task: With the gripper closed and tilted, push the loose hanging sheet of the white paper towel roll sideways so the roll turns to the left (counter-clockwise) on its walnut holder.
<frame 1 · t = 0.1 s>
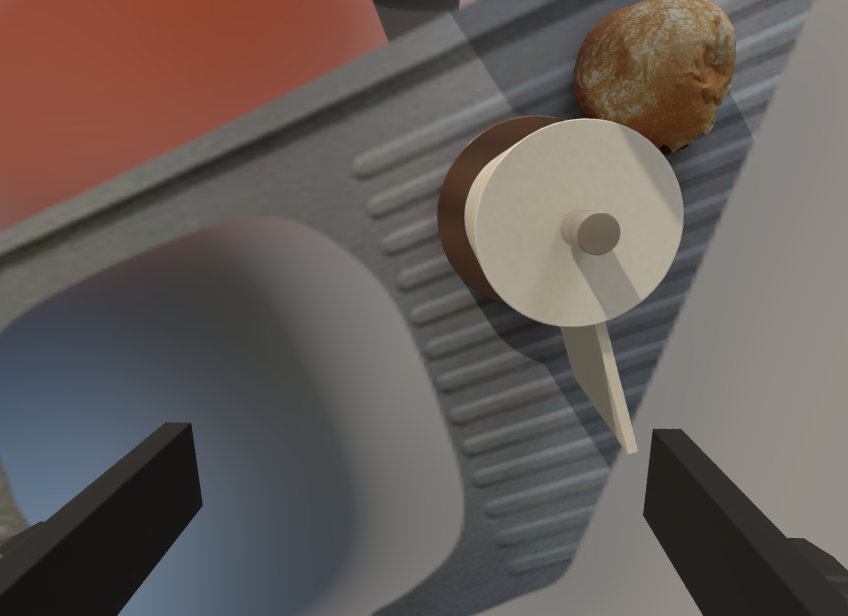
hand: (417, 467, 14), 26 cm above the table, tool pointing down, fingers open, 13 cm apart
towel holder: (528, 214, 37), on the table
paper towel roll: (548, 281, 30), point 8 cm above the table, hinge at 0.0°
bread roll: (642, 85, 35), on the table
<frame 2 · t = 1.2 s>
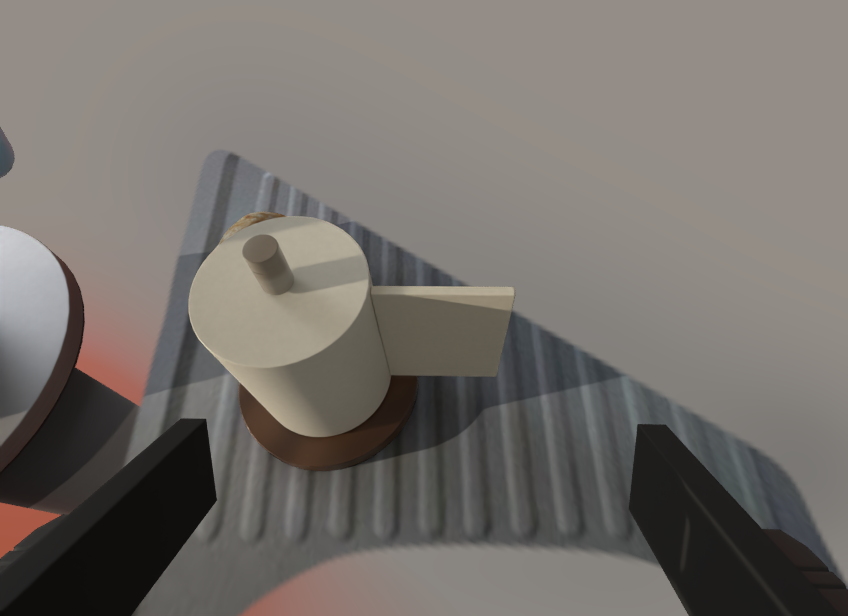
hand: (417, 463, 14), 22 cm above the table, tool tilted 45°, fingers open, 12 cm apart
towel holder: (332, 381, 39), on the table
paper towel roll: (359, 352, 31), point 8 cm above the table, hinge at 0.0°
bread roll: (280, 277, 44), on the table
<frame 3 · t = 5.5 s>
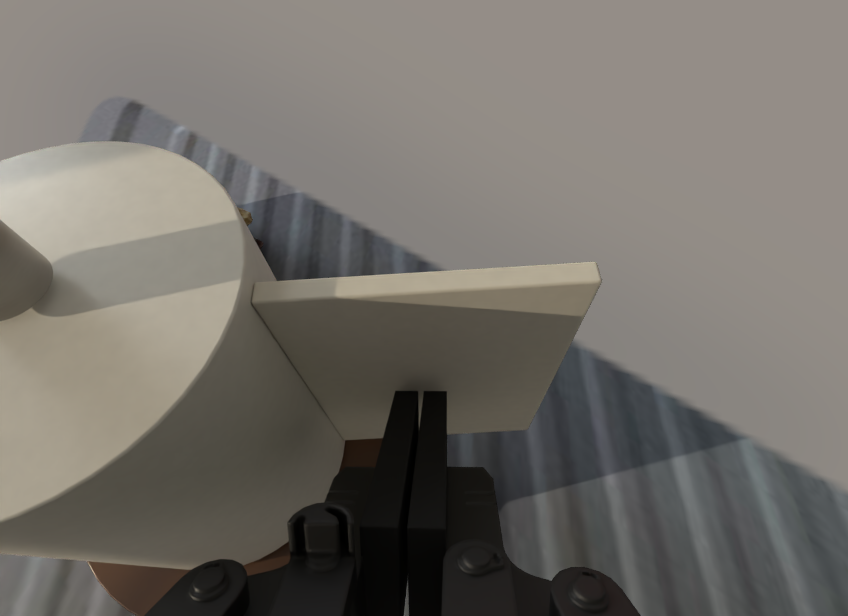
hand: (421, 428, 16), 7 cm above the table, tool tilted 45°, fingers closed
towel holder: (248, 453, 23), on the table
paper towel roll: (266, 419, 15), point 8 cm above the table, hinge at 3.9°, touching gripper
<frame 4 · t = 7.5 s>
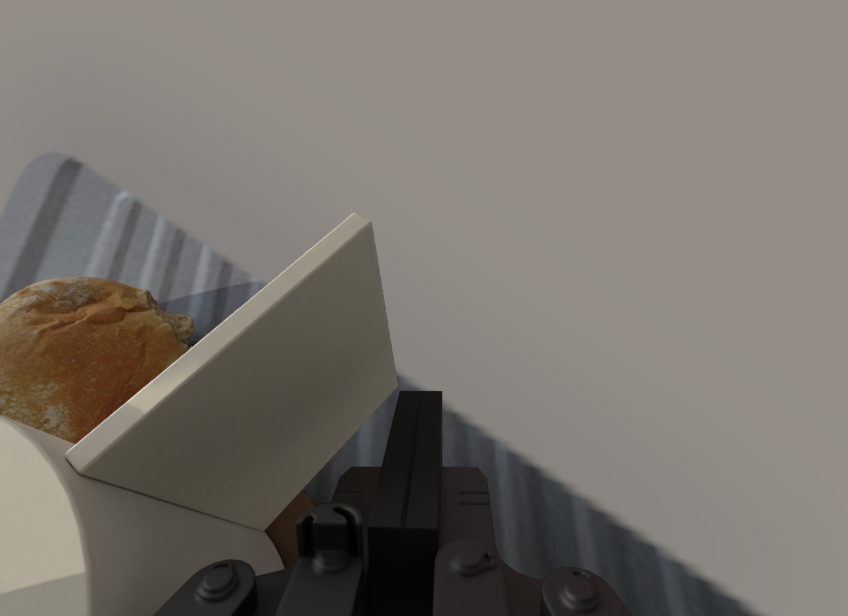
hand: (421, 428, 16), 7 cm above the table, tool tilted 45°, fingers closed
paper towel roll: (179, 576, 13), point 8 cm above the table, hinge at 50.5°, touching hand
bread roll: (113, 391, 24), on the table
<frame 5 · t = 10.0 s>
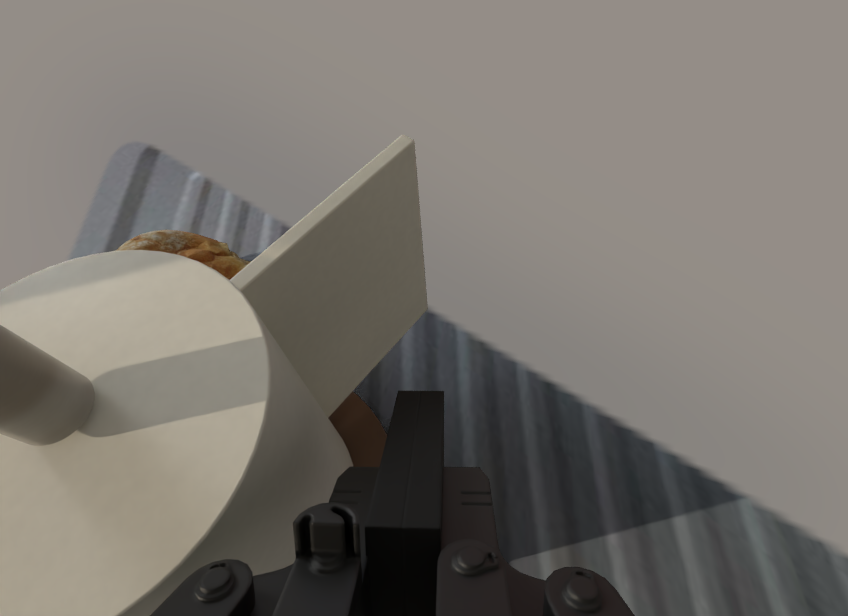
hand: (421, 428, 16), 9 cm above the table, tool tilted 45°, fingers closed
towel holder: (262, 507, 24), on the table
paper towel roll: (282, 411, 18), point 8 cm above the table, hinge at 52.8°
bread roll: (198, 328, 30), on the table
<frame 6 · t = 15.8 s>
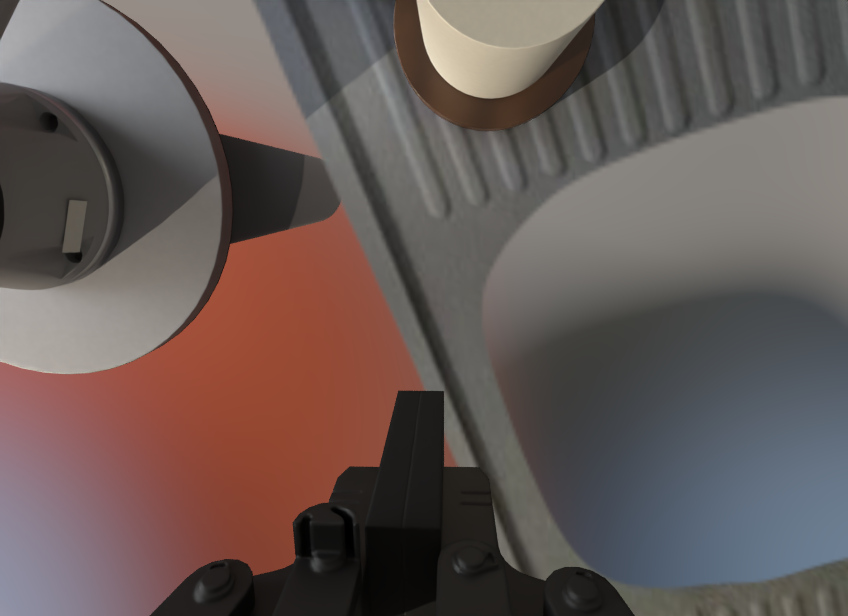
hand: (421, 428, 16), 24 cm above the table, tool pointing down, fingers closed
towel holder: (491, 29, 35), on the table
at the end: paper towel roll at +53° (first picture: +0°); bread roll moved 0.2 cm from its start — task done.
